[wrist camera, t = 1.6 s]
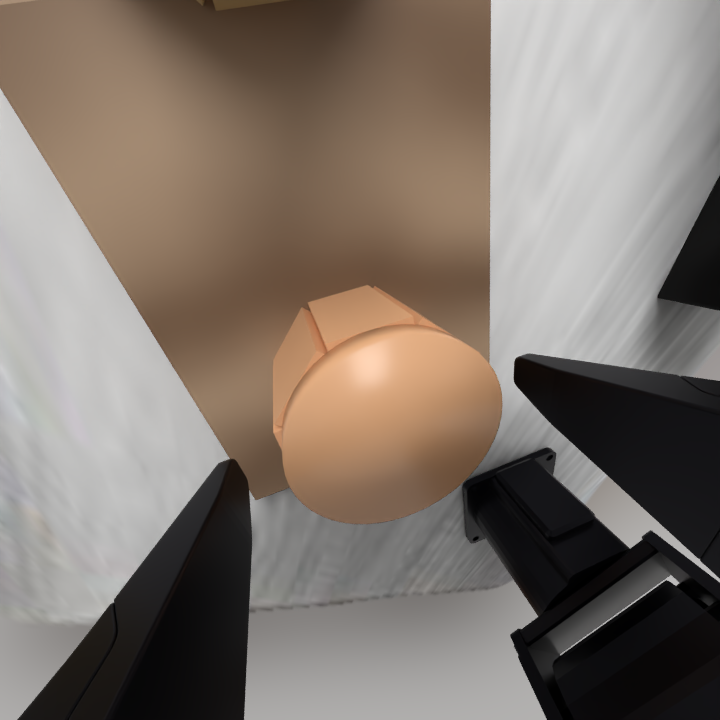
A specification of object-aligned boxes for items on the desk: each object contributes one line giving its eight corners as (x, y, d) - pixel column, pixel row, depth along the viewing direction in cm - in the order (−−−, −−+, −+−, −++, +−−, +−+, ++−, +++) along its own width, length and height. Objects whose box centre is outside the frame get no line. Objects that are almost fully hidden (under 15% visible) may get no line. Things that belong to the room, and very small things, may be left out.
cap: (431, 400, 13) (500, 477, 9) (306, 446, 13) (322, 551, 9) (416, 270, 10) (505, 302, 7) (252, 318, 10) (239, 388, 6)
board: (476, 401, 16) (515, 434, 13) (256, 482, 14) (253, 538, 12) (458, -460, 6) (603, -989, 3) (-338, -526, 4) (-1328, -1734, 1)
